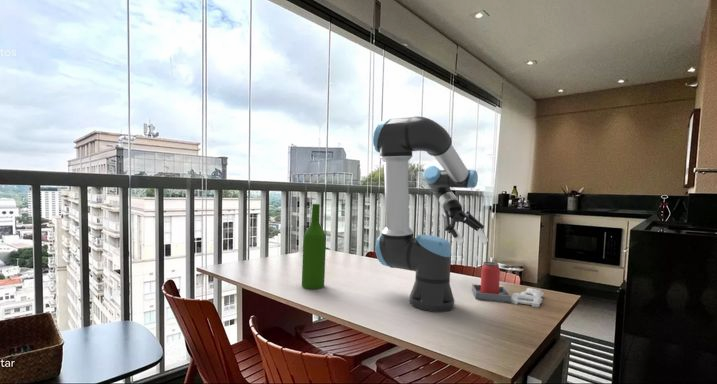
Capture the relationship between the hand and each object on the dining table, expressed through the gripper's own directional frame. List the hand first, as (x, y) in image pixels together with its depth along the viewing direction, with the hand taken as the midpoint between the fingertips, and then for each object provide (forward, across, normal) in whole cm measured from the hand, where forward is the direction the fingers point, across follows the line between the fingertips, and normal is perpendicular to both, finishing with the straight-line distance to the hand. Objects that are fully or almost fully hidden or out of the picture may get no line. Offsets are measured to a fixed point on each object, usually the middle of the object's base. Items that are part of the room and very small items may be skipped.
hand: (474, 243), depth 139 cm
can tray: (+20, +1, -6) cm, 21 cm away
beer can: (+20, +1, -6) cm, 21 cm away
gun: (+26, -10, -1) cm, 28 cm away
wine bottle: (-4, +60, -32) cm, 68 cm away
